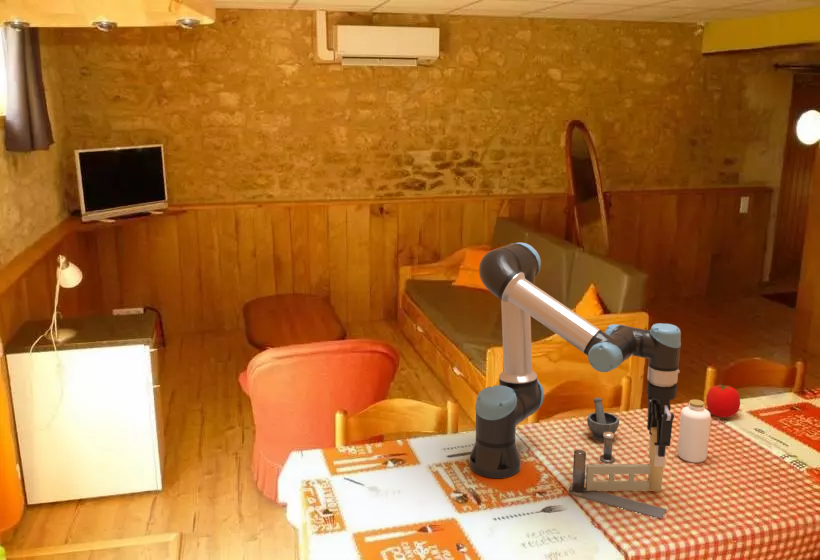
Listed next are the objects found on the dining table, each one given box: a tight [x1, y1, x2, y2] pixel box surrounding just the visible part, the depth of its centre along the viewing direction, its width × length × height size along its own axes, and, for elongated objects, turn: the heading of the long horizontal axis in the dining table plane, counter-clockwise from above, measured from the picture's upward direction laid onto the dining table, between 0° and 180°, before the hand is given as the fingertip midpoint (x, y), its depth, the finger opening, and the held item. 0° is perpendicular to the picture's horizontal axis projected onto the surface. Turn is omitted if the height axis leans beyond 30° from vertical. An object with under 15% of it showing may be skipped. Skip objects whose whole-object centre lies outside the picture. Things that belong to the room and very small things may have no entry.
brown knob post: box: [568, 449, 588, 498], centre depth 196 cm, size 5×5×12 cm
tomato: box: [705, 383, 741, 419], centre depth 243 cm, size 10×11×11 cm
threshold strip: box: [571, 491, 667, 520], centre depth 192 cm, size 24×5×1 cm, turn 59°
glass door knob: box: [599, 432, 616, 464], centre depth 214 cm, size 4×4×9 cm
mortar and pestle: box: [586, 397, 620, 443], centre depth 228 cm, size 11×9×12 cm
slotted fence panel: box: [585, 426, 664, 493], centre depth 195 cm, size 21×4×18 cm, turn 89°
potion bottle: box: [677, 399, 712, 464], centre depth 214 cm, size 8×8×18 cm
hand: (656, 461), depth 195 cm, fingers closed on slotted fence panel, 4 cm apart
